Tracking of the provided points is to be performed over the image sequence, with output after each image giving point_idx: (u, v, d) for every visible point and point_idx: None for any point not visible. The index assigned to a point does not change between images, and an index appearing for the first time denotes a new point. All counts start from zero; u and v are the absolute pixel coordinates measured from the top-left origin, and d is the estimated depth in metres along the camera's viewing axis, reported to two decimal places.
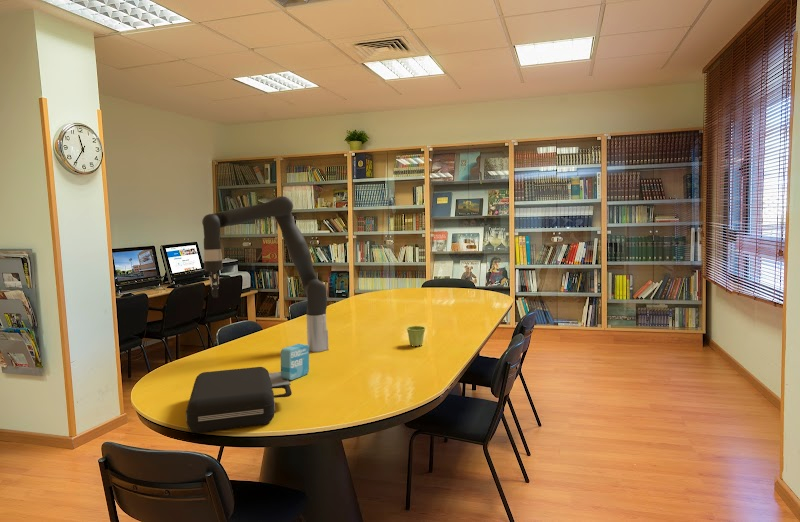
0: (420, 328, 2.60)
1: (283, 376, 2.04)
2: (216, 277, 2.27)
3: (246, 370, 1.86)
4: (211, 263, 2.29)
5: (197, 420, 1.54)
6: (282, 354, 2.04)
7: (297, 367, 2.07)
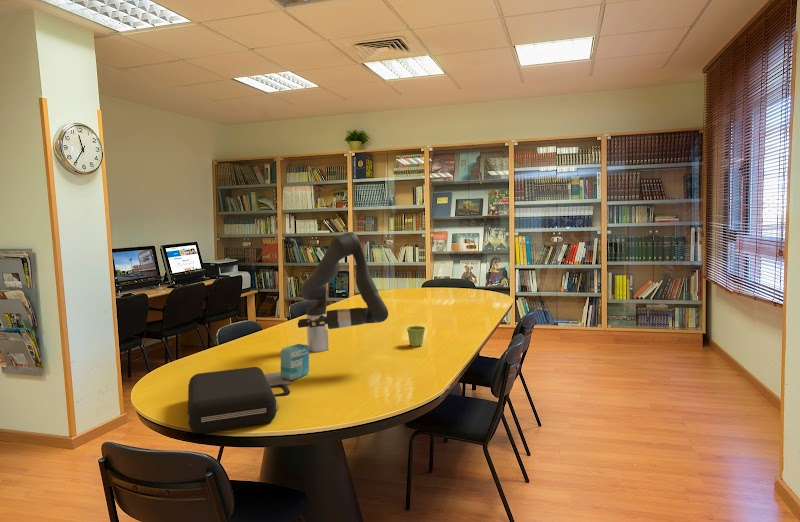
0: (420, 328, 2.60)
1: (283, 376, 2.04)
2: None
3: (241, 370, 1.85)
4: None
5: (200, 421, 1.53)
6: (282, 354, 2.04)
7: (297, 367, 2.07)
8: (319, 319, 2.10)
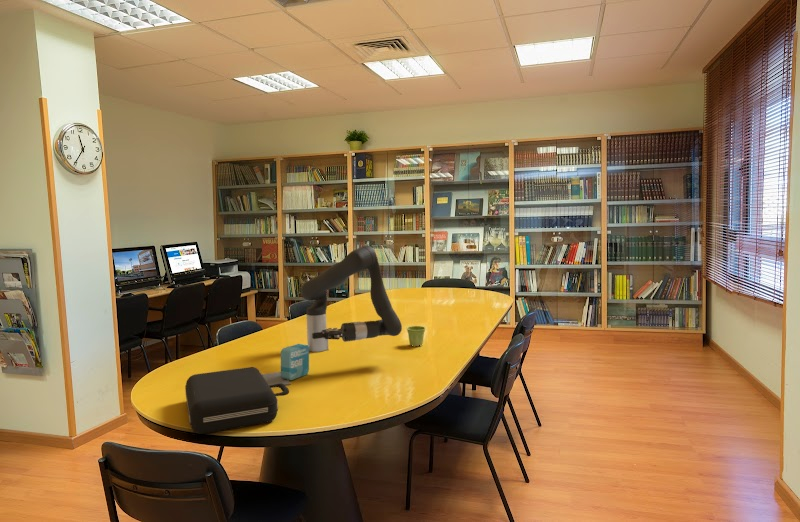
0: (420, 328, 2.60)
1: (283, 376, 2.04)
2: None
3: (239, 371, 1.85)
4: None
5: (202, 421, 1.53)
6: (282, 354, 2.04)
7: (297, 367, 2.07)
8: (338, 332, 2.11)
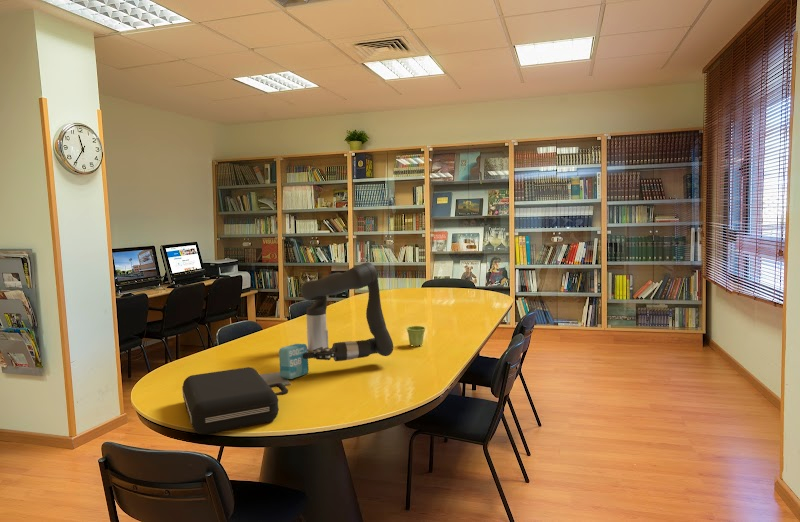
0: (420, 328, 2.60)
1: (283, 375, 2.04)
2: None
3: (236, 371, 1.85)
4: None
5: (204, 421, 1.52)
6: (280, 353, 2.04)
7: (296, 365, 2.07)
8: (329, 352, 2.10)
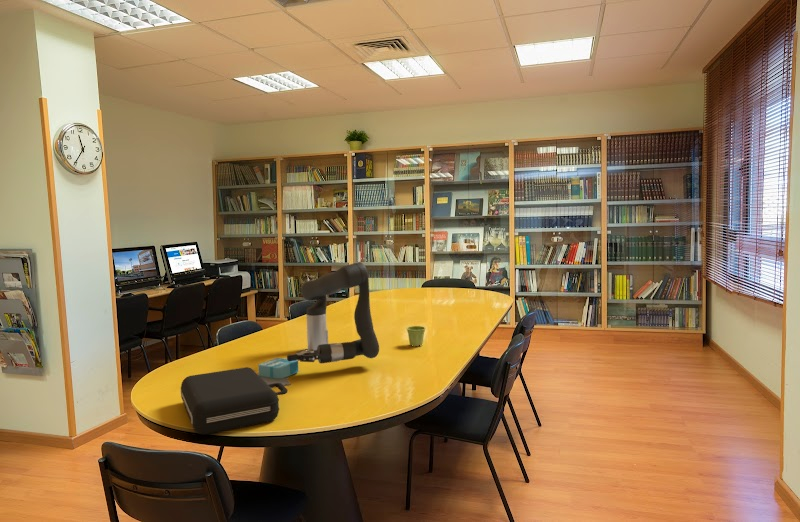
0: (420, 328, 2.60)
1: (277, 375, 2.06)
2: None
3: (234, 371, 1.85)
4: None
5: (205, 422, 1.52)
6: (260, 374, 2.10)
7: (279, 363, 2.11)
8: (313, 354, 2.08)
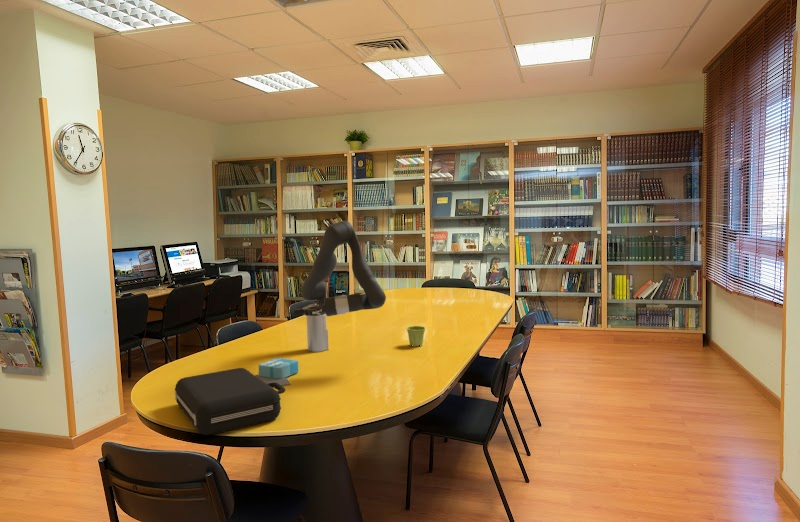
0: (420, 328, 2.60)
1: (277, 375, 2.06)
2: None
3: (229, 372, 1.84)
4: None
5: (210, 422, 1.52)
6: (260, 374, 2.10)
7: (279, 363, 2.11)
8: (317, 308, 2.11)
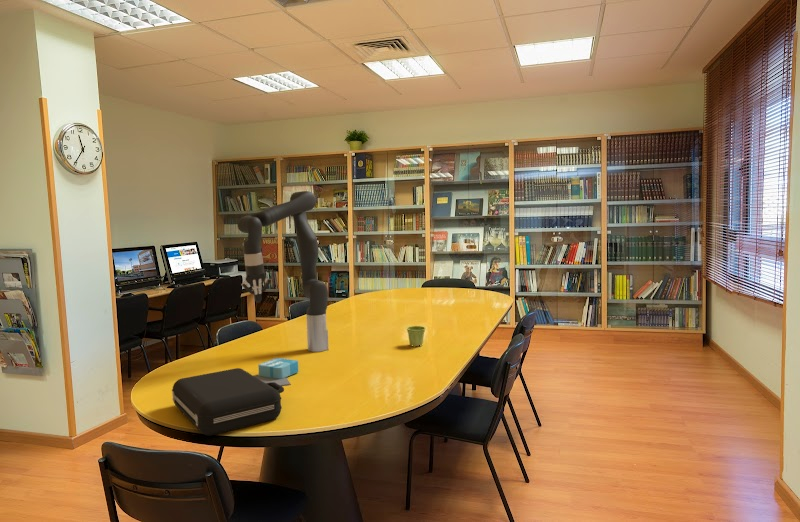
0: (420, 328, 2.60)
1: (277, 375, 2.06)
2: None
3: (227, 372, 1.84)
4: None
5: (212, 422, 1.52)
6: (260, 374, 2.10)
7: (279, 363, 2.11)
8: None
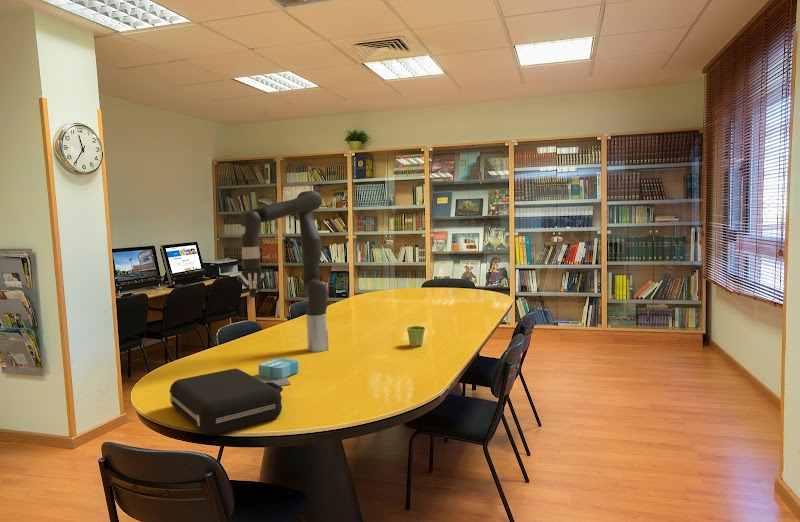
0: (420, 328, 2.60)
1: (277, 375, 2.06)
2: None
3: (224, 373, 1.83)
4: None
5: (215, 422, 1.52)
6: (260, 374, 2.10)
7: (279, 363, 2.11)
8: None
